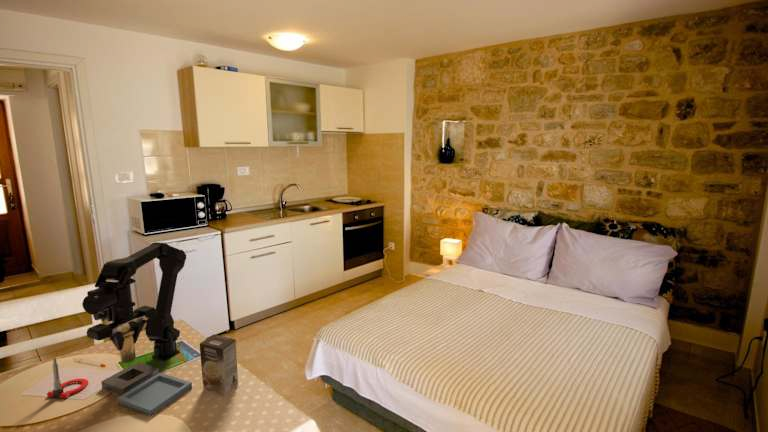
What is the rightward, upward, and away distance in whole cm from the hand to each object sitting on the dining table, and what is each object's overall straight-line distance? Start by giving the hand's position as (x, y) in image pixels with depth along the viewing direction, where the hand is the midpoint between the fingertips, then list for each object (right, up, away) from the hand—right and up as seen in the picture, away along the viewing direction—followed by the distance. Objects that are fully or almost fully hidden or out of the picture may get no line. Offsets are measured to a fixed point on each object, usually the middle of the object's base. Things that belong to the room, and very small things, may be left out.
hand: (126, 346), depth 123 cm
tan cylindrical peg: (0, -4, +1) cm, 4 cm away
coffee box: (+30, -13, 0) cm, 33 cm away
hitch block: (0, -12, +2) cm, 12 cm away
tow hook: (-17, -13, -1) cm, 21 cm away
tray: (+12, -14, -5) cm, 19 cm away
